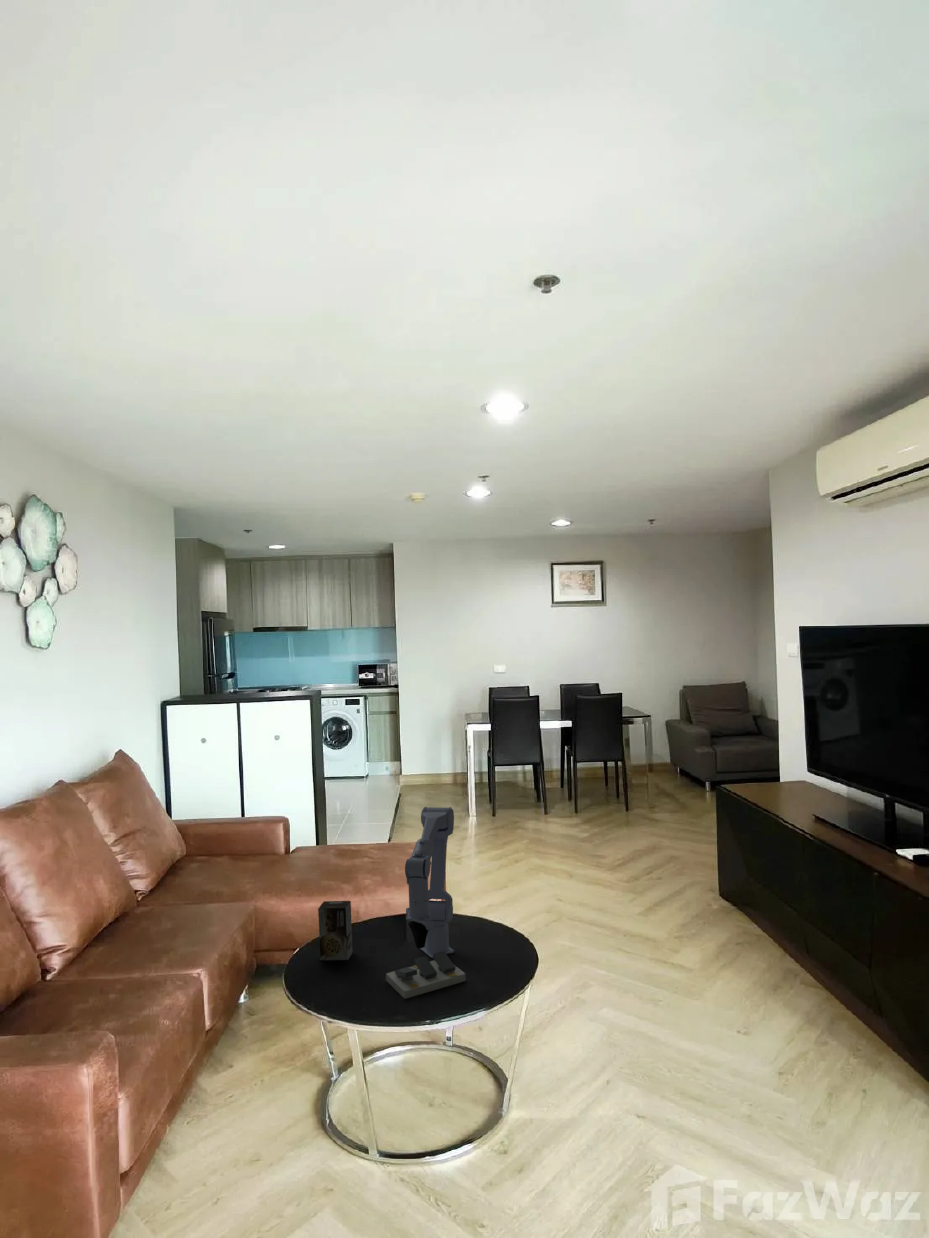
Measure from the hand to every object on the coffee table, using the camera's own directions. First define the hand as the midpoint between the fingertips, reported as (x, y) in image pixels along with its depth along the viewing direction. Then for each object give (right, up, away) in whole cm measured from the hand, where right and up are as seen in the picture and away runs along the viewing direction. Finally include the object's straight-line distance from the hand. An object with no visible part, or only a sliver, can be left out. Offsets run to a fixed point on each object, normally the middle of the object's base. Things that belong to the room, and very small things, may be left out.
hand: (420, 947), depth 205 cm
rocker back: (+7, -5, 0) cm, 8 cm away
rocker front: (-4, -5, -6) cm, 8 cm away
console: (+2, -8, -3) cm, 9 cm away
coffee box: (-27, -11, +16) cm, 34 cm away
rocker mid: (+2, -5, -3) cm, 6 cm away
